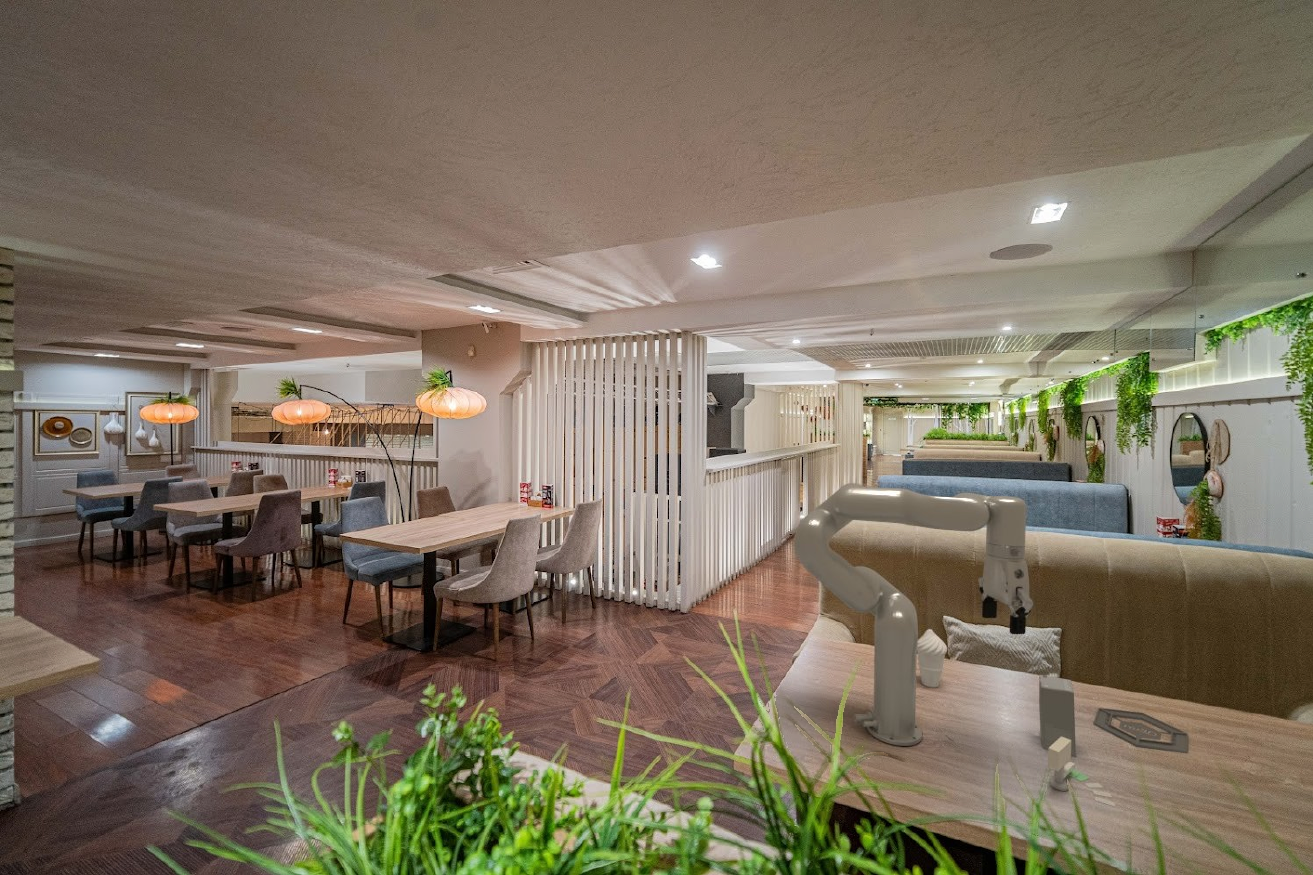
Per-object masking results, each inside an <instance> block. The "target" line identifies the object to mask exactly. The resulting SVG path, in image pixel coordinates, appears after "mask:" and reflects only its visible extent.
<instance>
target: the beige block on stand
mask: <svg viewBox="0 0 1313 875" xmlns="http://www.w3.org/2000/svg"><path fill="white" fill-rule="evenodd" d="M1047 751H1048V752H1047V753H1048V754H1047V755H1048V756H1047V768H1049V769H1050V768H1051V769H1054V770H1053V776H1050V777H1049V778H1048V779H1049V785H1050V787H1052V789H1055V790H1057V791H1060V792H1067V791H1069V785H1068V786H1067V783H1066V781H1067V780H1065V778H1066V777H1067V776H1068V775H1067V774H1068V773H1069V772H1070V771H1071V770H1072V769H1074V768H1075V764H1076V763H1074V762H1072V761H1070V760H1071V759H1072V756H1071V740H1069V739H1067V738H1064V737H1062V736H1061V737H1060V738H1059V739H1058V740H1057V741H1056V742H1055V743H1053V744H1052V745H1051V746H1050V747H1049V748H1048V750H1047Z"/></svg>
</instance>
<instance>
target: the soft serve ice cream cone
mask: <svg viewBox="0 0 1313 875" xmlns="http://www.w3.org/2000/svg"><path fill="white" fill-rule="evenodd" d="M947 651H948V646H947V645H946V643H945V642H944V641H943V640H942V639H941V638H940V637H939V636H938V635H937V634H936V633H935V632H934V631H933V629H932V628H928V629H927V630H925V632H924V633H923V635H922V636H921V637H920V638H918V641H917V660H918V661H917V666H918V669H919V674H920V679H921V683H922V685H924V686H925V687H928V688H932V689H933V688H938V687H939V685H940V680H941V676H942V672H943V671H944V662H945V661H944V660H945V659H946V656H945V655H946V654H947Z"/></svg>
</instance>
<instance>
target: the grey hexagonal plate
mask: <svg viewBox="0 0 1313 875" xmlns="http://www.w3.org/2000/svg"><path fill="white" fill-rule="evenodd" d="M1121 718H1122V719H1131V720H1136V721H1137V720H1138V721H1143V722H1145V723H1148V724H1149V725H1152V726H1154V727H1156V728H1158V729H1160V730H1161V731H1158V730H1157V729H1155V728H1153V727H1150V726H1148V725H1147V724H1144V723H1142V722H1135V721H1134V722H1133V721H1127V720H1122V719H1121ZM1112 719H1115V720H1117V721H1118V722H1120V723H1119V727H1117V726H1114V725H1113V724H1111V722H1112ZM1092 725H1093V726H1095V727H1097V728H1098V729H1100V730H1102V731H1104V732H1106V733H1108V734H1111V735H1113V736H1114V737H1116V738H1118V739H1120V740H1122V741H1124V742H1126V743H1128V744H1129V745H1131V746H1133V747H1135V748H1140V749H1150V750H1157V751H1166V752H1171V753H1172V752H1173V753H1181V754H1188V748H1189V746H1188V744H1189V740H1188V739H1189V733H1188V732H1185V731H1183V730H1181V729H1179V728H1177V727H1174V726H1173V725H1170V724H1169V723H1166V722H1164V721H1162V720H1159V719H1158V718H1155V717H1153V716H1151V715H1149V714H1146V713H1145V712H1140V711H1131V710H1124V709H1123V710H1122V709H1112V708H1104V707H1098V708H1097V711H1096V714H1095V717H1094V720H1093V724H1092ZM1162 735H1170V741H1161V737H1162Z"/></svg>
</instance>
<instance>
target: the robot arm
mask: <svg viewBox="0 0 1313 875" xmlns="http://www.w3.org/2000/svg"><path fill="white" fill-rule="evenodd" d="M853 521H862V522H863V521H864V522H875V523H876V522H877V523H878V522H879V523H889V524H890V523H891V524H901V525H906V526H910V527H912V526H913V527H920V528H925V529H933V530H940V531H941V530H943V531H954V532H956V531H958V532H975V531H979V530H981V529H983V528H984V527H985V526H986V533H985V534H986V535H985V536H986V538H985V559H984V564H983V571H982V572H983V573H982V576H981V577H979V578H978V579H977V581H978V586H979V591H980V594H981V596H980V599H981V600H982V609H981V614H982V615H981V616H982V618H983V619H997V616H998V614H997V613H998V602H1000V603H1002V604H1005V605H1007V606H1008V608H1009V610H1010V612H1011V614H1010V615H1009V633H1010V634H1011V635H1025V634H1026V631H1027V629H1026V628H1027V627H1026V623H1027V621H1026V620H1027V617H1028V616H1029V614H1030V613H1031V612H1032V611H1031V610H1032V609H1033V606H1034V601H1033V600H1032V598H1030V579H1029V571H1028V565H1027V560H1025V558H1026V557H1025V554H1026V551H1025V550H1026V528H1027V527H1026V526H1027V525H1026V524H1027V503H1026V502H1025V500H1023V499H1022V498H1020V497H1017V496H1007V495H996V496H995V495H994V496H989V495H984V494H979V493H973V492H972V493H971V492H961V493H958V494H955V495H954V496H953V497H950V496H949V497H948V496H938V495H937V496H936V495H928V494H923V493H922V494H921V493H918V492H915V491H913V490H910V489H906V488H902V487H879V486H864V485H861V484H860V483H857V482H855V483H854V482H849V483H848V482H847V483H846V484H843V485H842V486H840V487H839V488H838V489H837V490H836V491H835V492H834V493H833V494H831V496H829V497H828V498H827V499H825V500H824V501H823V502H822V503H821V504H819V505H818V506H817V507H815V508H814V509H813V510H812V511H810V512H809V513H807V515H806V516H805V517H804V518H802V520H800V522H799V524H798V525H797V527H796V531H795V533H794V539H793V546H794V547H793V548H794V553H795V555H796V557H797V559H798V561H799V563H800V564H801V565H802V567H803V568H804V569H806V571H808V573H809V574H810V575H812V576H813V577H814V578H815V579H816V580H818V581H819V583H821V584H822V585H823V586H824V587H825V588H826V589H828V591H830V592H831V593H832V594H833V595H834V596H836V598H838V599H839V600H840V601H842V603H844V604H845V606H847V607H848V608H849V609H850V610H852V611H854V612H855V613H856V612H857V613H858V614H859V613H860V614H865V613H869V614H870V613H871V615H873V617H875V618H874V630H873V635H874V638H873V639H874V655H873V656H874V660H873V661H874V662H873V666H874V667H873V675H874V676H873V707H870V708H869V712H866V713H865V714H864V713H863V714H862V713H854V714H853V720H854V723H857V724H858V723H861V724H862V725H863V727H864V728H866V729H867V731H868V733H869V734H871V736H873V737H875V739H877V740H879V741H882V742H884V743H887V744H889V745H893V746H898V747H901V746H902V747H910V746H915V745H917V744H919V743H920V742H921V741H922V738H923V733H922V730H921V728H920V727H919V726H918V725H917V724H916V709H917V707H916V705H917V704H916V702H917V698H916V697H917V663H918V661H917V660H918V654H917V641H918V639H919V637H918V636H919V626H918V625H919V624H918V614H917V609H916V607H915V605H914V604H913V602H912V601H911V600H910V599H909V598H908V597H907V596H906V595H905V594H904V593H903V592H901V591H900V589H898V588H896V586H893V584H891V583H890V582H889V581H888V580H887V579H886V578H884V577H883V576H882V575H880V574H879V573H878V572H877V571H875V570H874V569H872V568H870V567H866V566H862V565H859V566H853V565H852V564H851V563H849V561H847V560H846V559H845V558H844V557H843V556H841V555H840V554H839V553H837V552H836V551H834V550H833V549H832V548H831V547H830V541H831V540H832V538H833V537H834V536H835V535H836V534H837V533H839V532H840V531H841V530H842V529H844V528H845V527H846V526H847V525H849V524H850V523H851V522H853ZM1016 607H1018V608H1016Z"/></svg>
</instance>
